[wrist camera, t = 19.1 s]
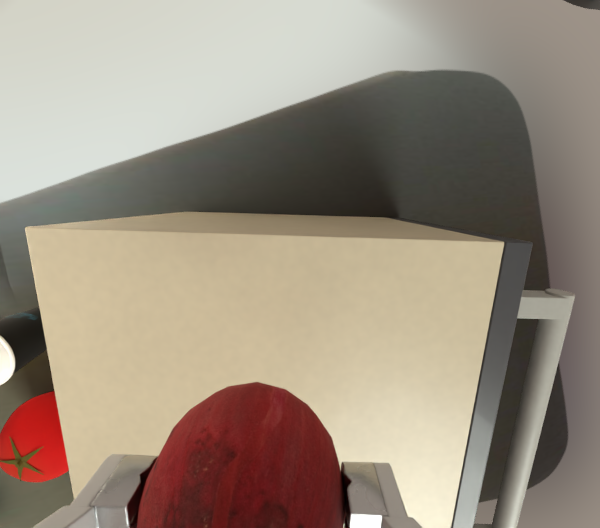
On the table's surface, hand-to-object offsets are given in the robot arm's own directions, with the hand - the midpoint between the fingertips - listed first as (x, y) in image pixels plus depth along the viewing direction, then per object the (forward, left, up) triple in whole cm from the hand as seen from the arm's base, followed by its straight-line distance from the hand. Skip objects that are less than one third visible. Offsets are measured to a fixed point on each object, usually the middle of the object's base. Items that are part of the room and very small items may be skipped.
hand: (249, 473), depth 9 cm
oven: (+9, -1, -33) cm, 34 cm away
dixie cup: (+10, -36, -33) cm, 50 cm away
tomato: (+26, -35, -33) cm, 55 cm away
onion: (0, 0, -3) cm, 3 cm away
